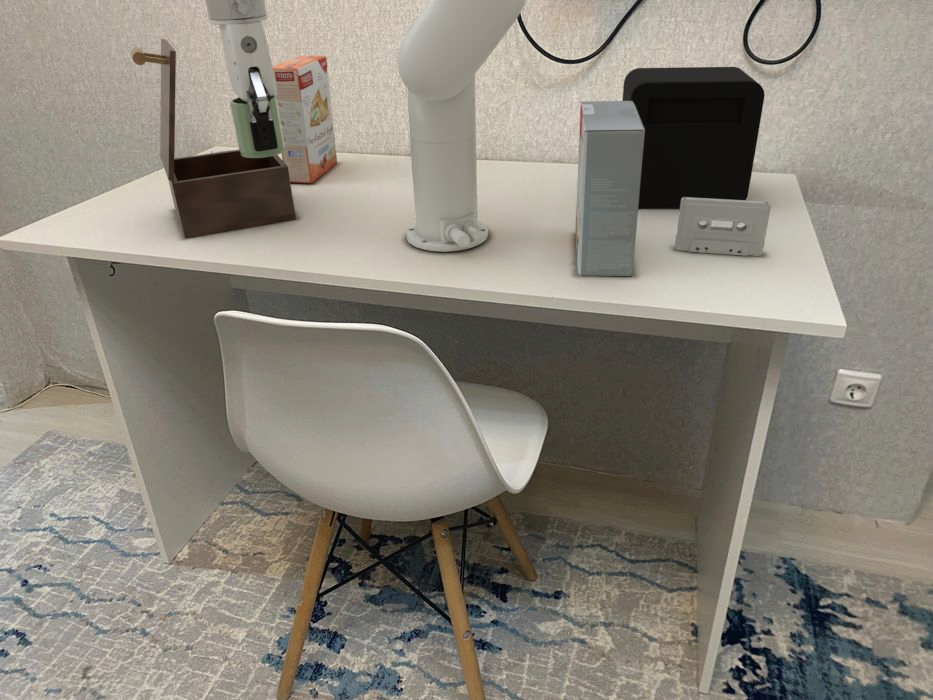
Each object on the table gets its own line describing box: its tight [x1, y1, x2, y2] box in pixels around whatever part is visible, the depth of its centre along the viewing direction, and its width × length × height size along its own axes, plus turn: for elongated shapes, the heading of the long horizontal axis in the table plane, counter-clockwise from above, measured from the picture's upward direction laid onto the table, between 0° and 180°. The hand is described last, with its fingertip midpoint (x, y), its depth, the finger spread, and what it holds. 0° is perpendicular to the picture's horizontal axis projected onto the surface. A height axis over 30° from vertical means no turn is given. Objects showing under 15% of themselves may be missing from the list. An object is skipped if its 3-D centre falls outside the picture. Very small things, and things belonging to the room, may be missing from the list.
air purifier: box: [621, 66, 765, 209], centre depth 123 cm, size 20×15×20 cm
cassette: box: [674, 197, 772, 257], centre depth 104 cm, size 12×2×8 cm, turn 75°
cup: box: [229, 94, 285, 158], centre depth 106 cm, size 6×6×8 cm
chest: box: [167, 149, 297, 239], centre depth 124 cm, size 18×15×9 cm
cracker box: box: [272, 55, 338, 184], centre depth 140 cm, size 14×6×21 cm, turn 168°
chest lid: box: [130, 38, 177, 181], centre depth 113 cm, size 19×15×5 cm
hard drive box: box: [575, 100, 645, 277], centre depth 101 cm, size 16×8×20 cm, turn 174°
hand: (261, 143), depth 107 cm, fingers closed on cup, 6 cm apart
